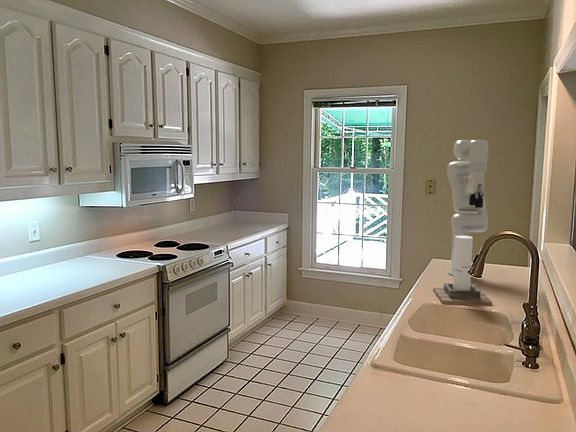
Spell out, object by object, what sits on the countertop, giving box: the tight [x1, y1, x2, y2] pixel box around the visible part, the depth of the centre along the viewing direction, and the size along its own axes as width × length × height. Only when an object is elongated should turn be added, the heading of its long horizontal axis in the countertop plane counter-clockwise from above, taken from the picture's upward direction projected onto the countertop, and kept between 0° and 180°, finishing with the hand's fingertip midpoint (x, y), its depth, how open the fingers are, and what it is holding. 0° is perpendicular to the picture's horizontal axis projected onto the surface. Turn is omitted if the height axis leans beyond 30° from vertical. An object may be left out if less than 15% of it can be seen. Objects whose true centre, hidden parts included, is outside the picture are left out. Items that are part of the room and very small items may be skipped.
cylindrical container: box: [452, 235, 474, 291], centre depth 213 cm, size 7×7×25 cm
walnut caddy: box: [432, 283, 493, 306], centre depth 214 cm, size 20×20×4 cm
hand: (475, 206), depth 223 cm, fingers open, 9 cm apart
